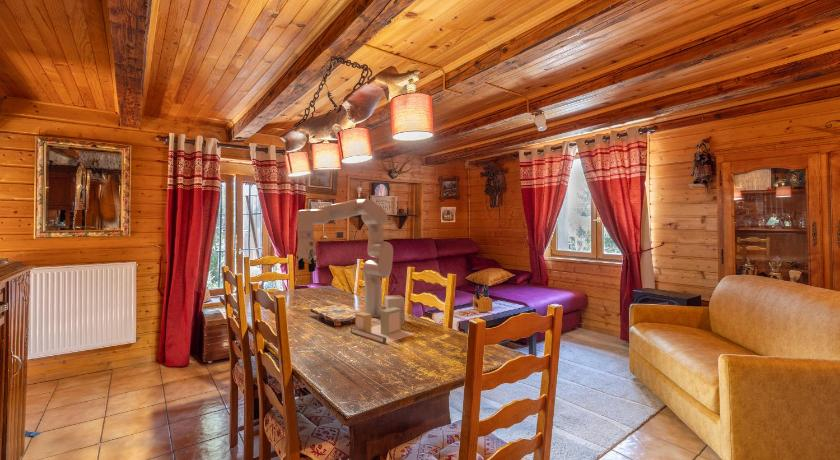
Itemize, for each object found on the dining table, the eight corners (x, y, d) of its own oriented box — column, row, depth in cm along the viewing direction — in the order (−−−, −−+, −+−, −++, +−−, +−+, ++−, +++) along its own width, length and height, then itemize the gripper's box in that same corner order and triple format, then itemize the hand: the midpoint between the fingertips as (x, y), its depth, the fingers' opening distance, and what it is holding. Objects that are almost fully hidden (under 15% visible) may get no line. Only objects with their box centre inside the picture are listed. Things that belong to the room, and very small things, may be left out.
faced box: (362, 330, 192) (361, 311, 192) (371, 333, 187) (371, 314, 187) (355, 332, 189) (355, 313, 189) (364, 335, 184) (364, 316, 184)
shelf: (381, 327, 202) (381, 319, 202) (414, 336, 186) (414, 328, 186) (350, 335, 188) (350, 327, 188) (384, 347, 172) (384, 338, 172)
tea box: (380, 333, 186) (380, 310, 186) (394, 329, 193) (394, 307, 192) (387, 335, 183) (387, 312, 183) (401, 331, 190) (401, 308, 189)
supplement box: (384, 323, 209) (383, 295, 208) (400, 322, 211) (400, 294, 211) (387, 328, 200) (387, 299, 199) (405, 326, 203) (404, 297, 202)
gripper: (322, 235, 188) (323, 271, 189) (303, 234, 200) (304, 268, 201) (308, 236, 182) (308, 273, 183) (289, 235, 194) (290, 269, 195)
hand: (306, 270), depth 192 cm, fingers open, 9 cm apart
